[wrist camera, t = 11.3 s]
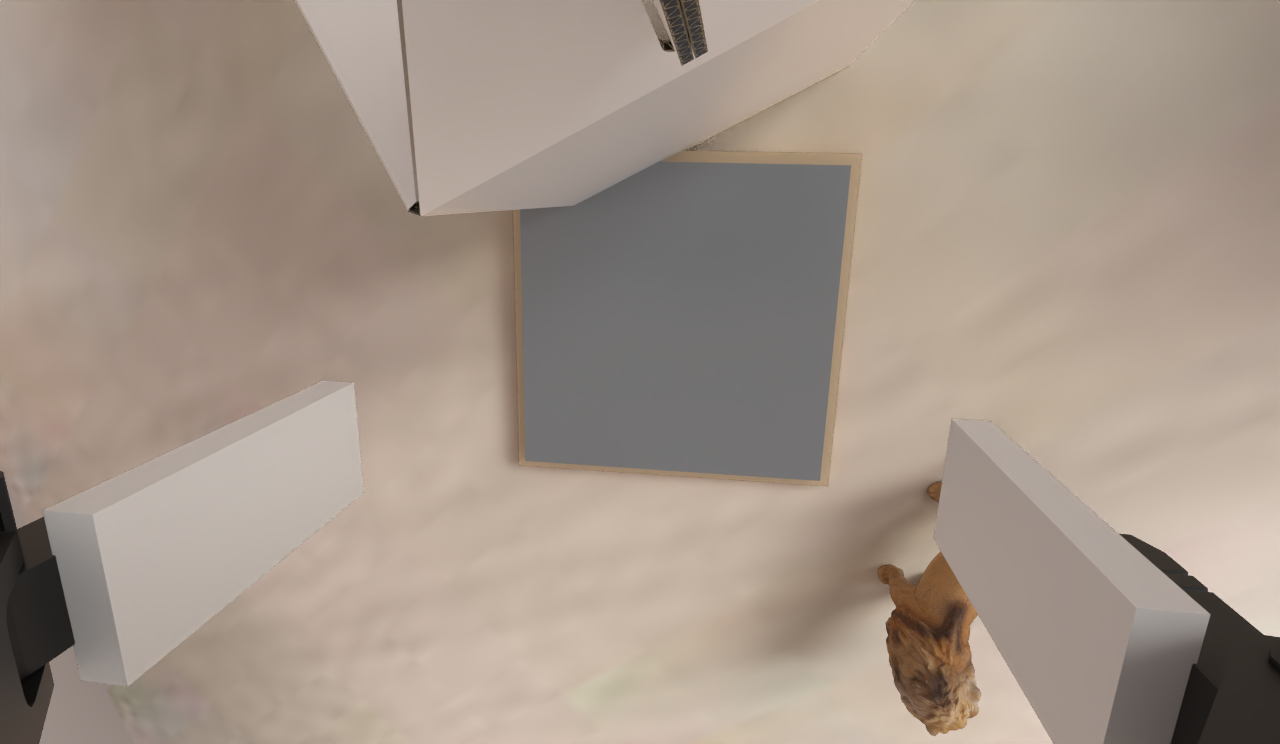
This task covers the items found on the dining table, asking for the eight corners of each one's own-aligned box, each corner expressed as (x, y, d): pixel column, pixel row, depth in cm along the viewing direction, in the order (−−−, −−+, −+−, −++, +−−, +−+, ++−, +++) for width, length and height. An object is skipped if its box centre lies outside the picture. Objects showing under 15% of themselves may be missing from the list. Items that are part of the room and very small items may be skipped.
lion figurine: (931, 649, 34) (985, 767, 27) (849, 622, 34) (882, 731, 27) (1039, 440, 31) (1131, 512, 24) (948, 410, 31) (1013, 473, 24)
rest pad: (515, 148, 30) (507, 146, 29) (859, 154, 29) (865, 152, 28) (522, 460, 34) (515, 469, 33) (826, 481, 33) (830, 491, 31)
